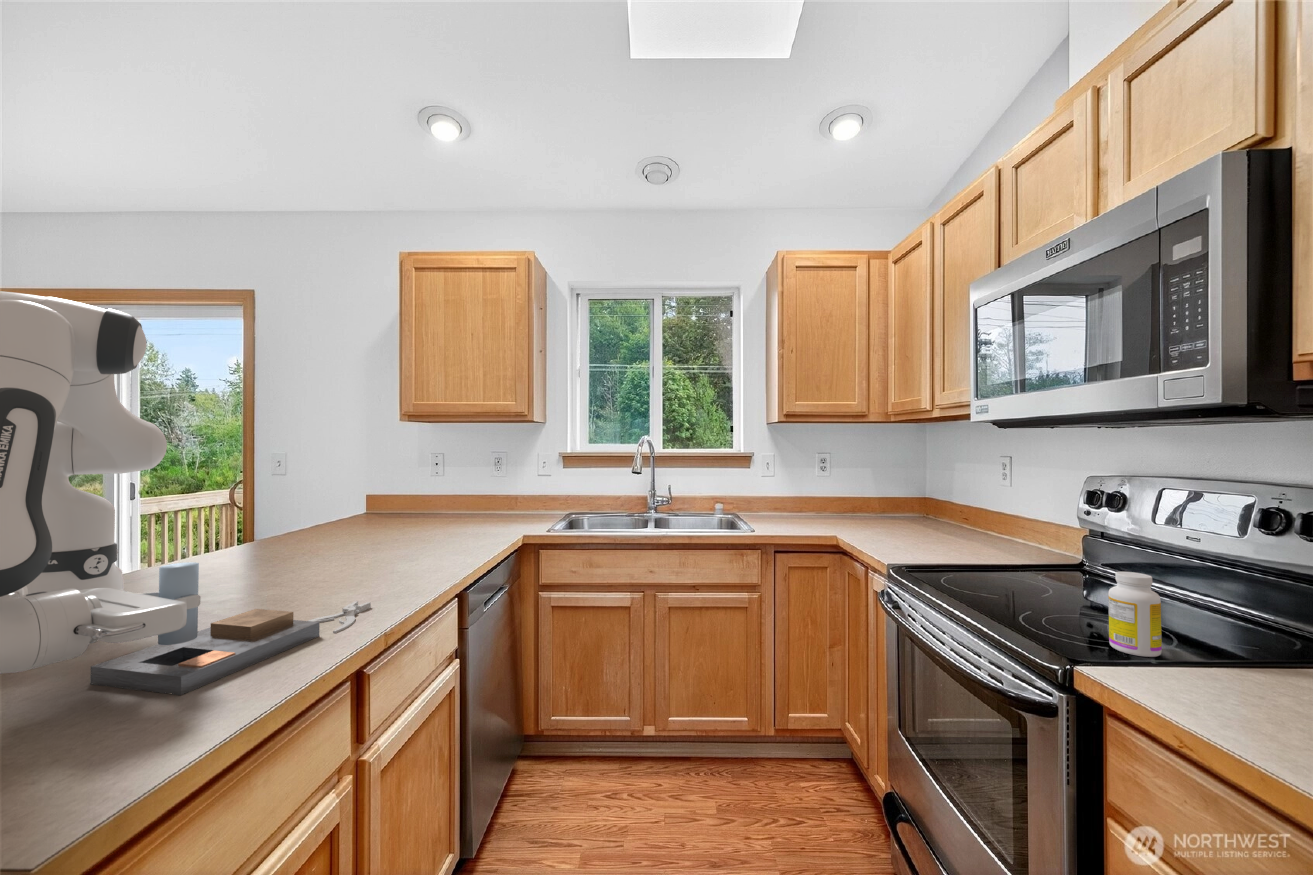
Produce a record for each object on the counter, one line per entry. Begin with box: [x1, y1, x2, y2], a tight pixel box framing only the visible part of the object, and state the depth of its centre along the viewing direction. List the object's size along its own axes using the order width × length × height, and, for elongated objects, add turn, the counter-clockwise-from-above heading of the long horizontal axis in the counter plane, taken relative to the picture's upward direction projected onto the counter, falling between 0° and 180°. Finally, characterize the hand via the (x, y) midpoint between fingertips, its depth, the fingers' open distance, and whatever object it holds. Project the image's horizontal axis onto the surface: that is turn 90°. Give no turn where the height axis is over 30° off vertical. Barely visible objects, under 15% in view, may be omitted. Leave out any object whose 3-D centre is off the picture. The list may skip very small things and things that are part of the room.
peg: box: [157, 561, 200, 645], centre depth 80 cm, size 4×4×11 cm
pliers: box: [307, 600, 372, 634], centre depth 105 cm, size 10×2×15 cm
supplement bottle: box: [1107, 571, 1163, 658], centre depth 90 cm, size 7×7×13 cm
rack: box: [89, 608, 321, 696], centre depth 85 cm, size 16×23×4 cm
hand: (185, 597), depth 81 cm, fingers closed on peg, 4 cm apart
